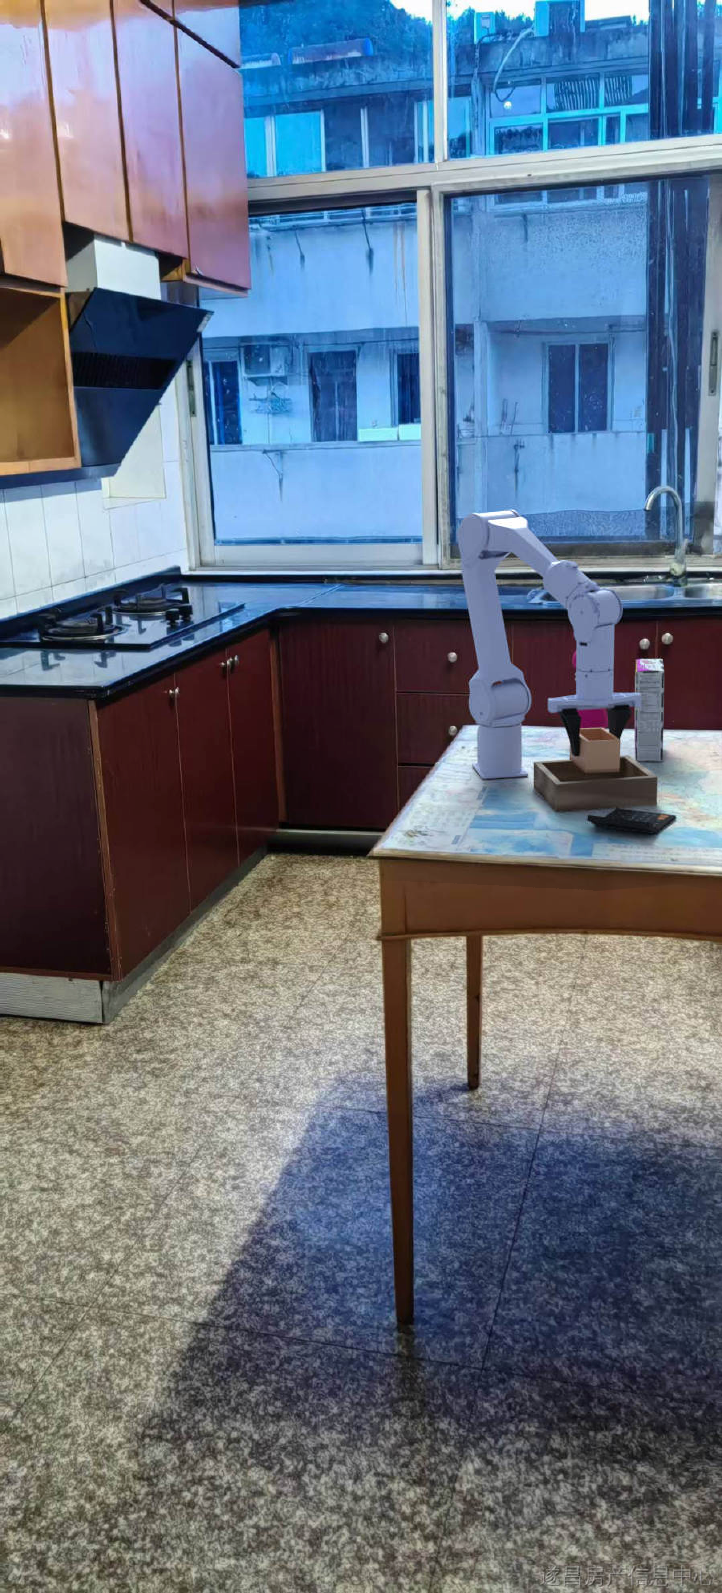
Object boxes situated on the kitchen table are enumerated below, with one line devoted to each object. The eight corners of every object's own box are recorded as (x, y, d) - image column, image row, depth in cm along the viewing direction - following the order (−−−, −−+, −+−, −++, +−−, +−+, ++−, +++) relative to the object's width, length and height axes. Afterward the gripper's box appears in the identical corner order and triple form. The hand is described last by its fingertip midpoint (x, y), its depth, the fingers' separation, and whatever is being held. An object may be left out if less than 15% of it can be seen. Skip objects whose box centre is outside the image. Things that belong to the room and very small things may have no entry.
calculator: (675, 820, 189) (676, 801, 188) (648, 843, 179) (648, 823, 178) (616, 813, 194) (616, 794, 193) (586, 834, 184) (586, 815, 183)
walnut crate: (533, 788, 207) (533, 761, 206) (627, 781, 209) (628, 755, 208) (556, 812, 194) (556, 784, 193) (656, 804, 196) (657, 777, 194)
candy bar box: (633, 746, 231) (635, 658, 226) (661, 747, 230) (663, 658, 225) (633, 762, 220) (635, 670, 216) (663, 762, 219) (665, 670, 215)
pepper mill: (568, 749, 231) (568, 641, 226) (568, 740, 238) (569, 634, 232) (608, 749, 230) (609, 640, 224) (607, 739, 237) (609, 634, 231)
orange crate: (569, 759, 204) (570, 728, 202) (601, 757, 204) (603, 727, 203) (585, 772, 195) (586, 741, 194) (619, 771, 196) (620, 740, 194)
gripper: (556, 676, 191) (556, 762, 195) (648, 670, 193) (646, 756, 196) (544, 668, 198) (544, 752, 202) (633, 662, 199) (632, 745, 203)
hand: (594, 753), depth 199 cm, fingers closed on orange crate, 5 cm apart
